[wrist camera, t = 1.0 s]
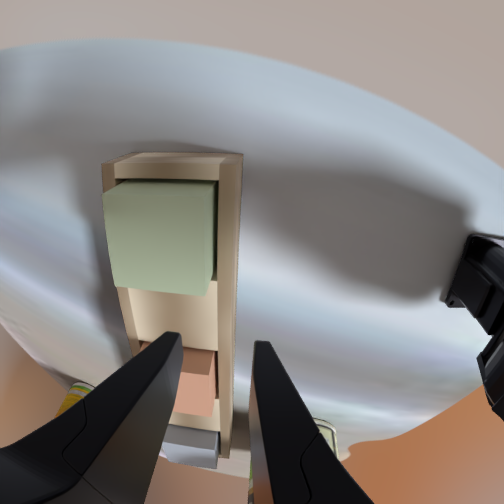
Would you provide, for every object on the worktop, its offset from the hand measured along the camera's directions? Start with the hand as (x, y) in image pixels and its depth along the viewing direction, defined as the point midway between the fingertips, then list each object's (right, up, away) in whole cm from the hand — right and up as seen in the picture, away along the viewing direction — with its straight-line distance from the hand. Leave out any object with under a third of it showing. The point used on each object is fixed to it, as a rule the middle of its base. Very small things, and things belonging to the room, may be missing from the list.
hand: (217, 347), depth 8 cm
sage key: (-4, +5, +9) cm, 11 cm away
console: (-4, -4, +16) cm, 17 cm away
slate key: (-5, -15, +19) cm, 25 cm away
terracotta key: (-4, -5, +14) cm, 15 cm away
